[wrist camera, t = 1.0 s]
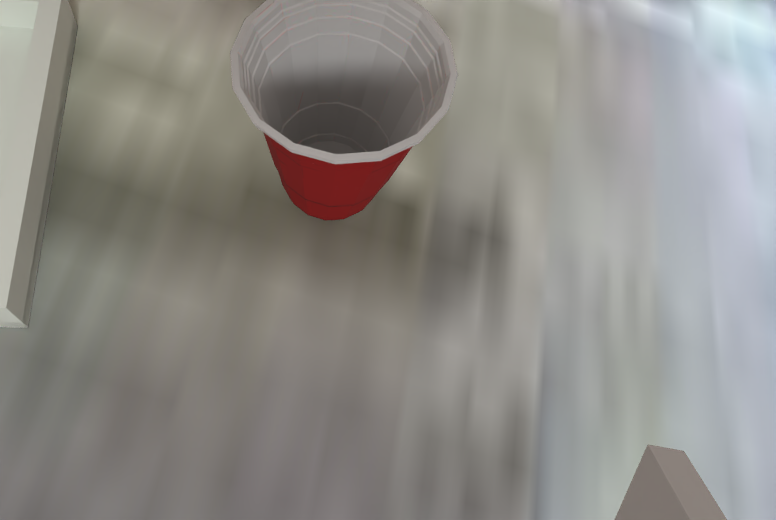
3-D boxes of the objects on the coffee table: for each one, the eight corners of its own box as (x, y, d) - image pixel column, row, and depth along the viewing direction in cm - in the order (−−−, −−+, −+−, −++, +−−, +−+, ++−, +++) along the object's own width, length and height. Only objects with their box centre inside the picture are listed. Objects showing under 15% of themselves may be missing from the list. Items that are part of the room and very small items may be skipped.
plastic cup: (292, 77, 47) (299, -66, 36) (438, 152, 46) (491, 30, 35) (203, 206, 42) (181, 88, 31) (364, 289, 42) (398, 200, 31)
